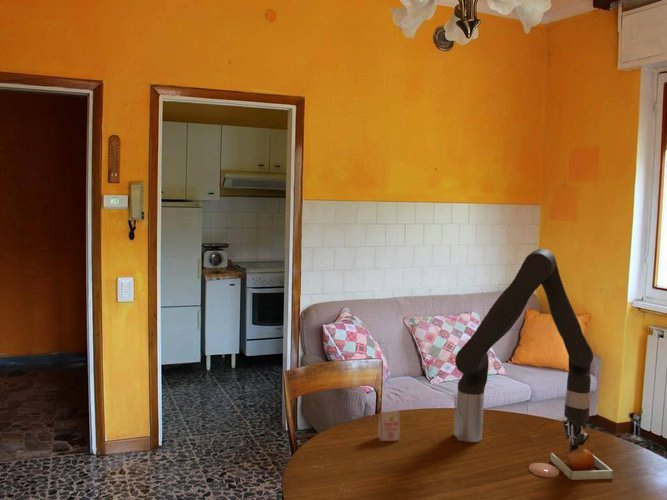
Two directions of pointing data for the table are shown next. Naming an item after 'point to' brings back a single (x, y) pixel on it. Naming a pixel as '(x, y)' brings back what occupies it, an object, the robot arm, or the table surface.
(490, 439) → the table surface
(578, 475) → the pale gray u-shaped frame
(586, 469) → the fruit
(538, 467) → the pink shiny oval part
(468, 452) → the table surface
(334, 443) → the table surface
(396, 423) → the tea bag
